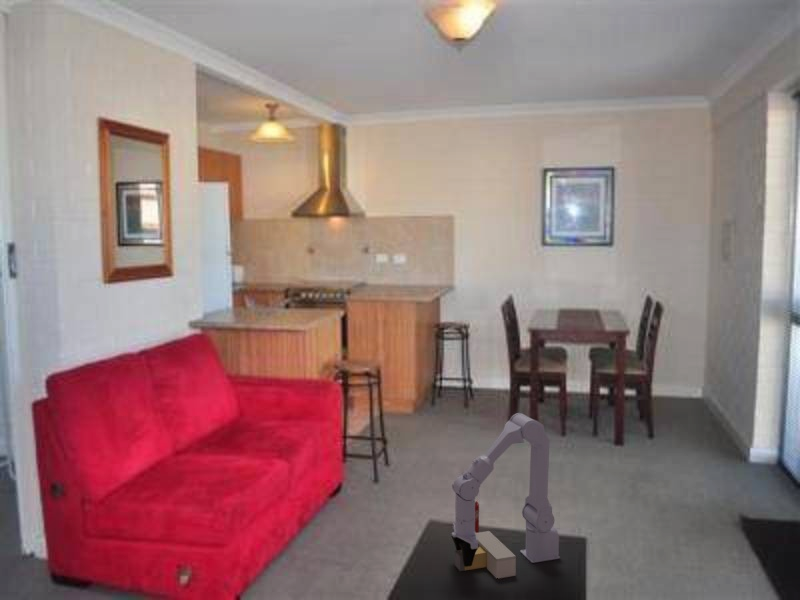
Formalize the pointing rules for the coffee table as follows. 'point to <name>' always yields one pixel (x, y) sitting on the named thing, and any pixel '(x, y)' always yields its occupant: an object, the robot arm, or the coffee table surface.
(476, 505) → the beverage can
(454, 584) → the coffee table surface
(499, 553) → the socket block
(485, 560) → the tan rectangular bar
